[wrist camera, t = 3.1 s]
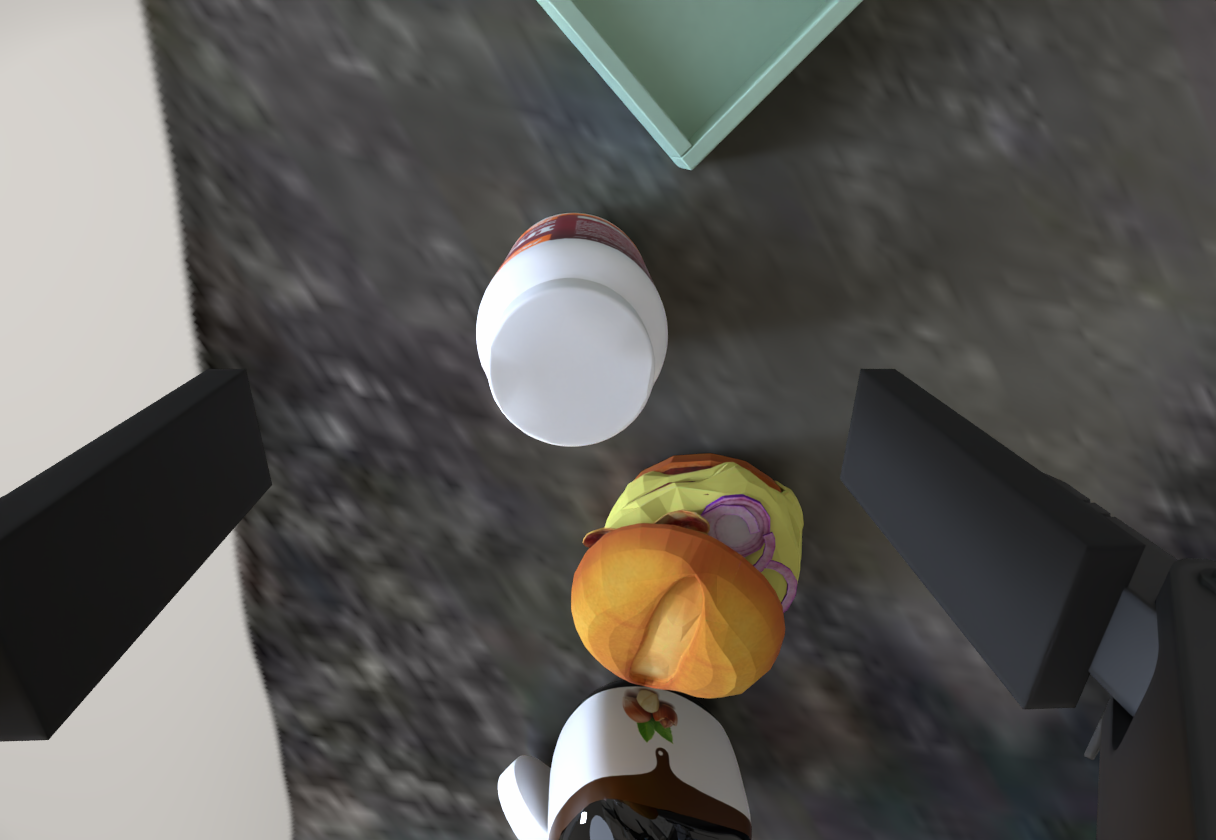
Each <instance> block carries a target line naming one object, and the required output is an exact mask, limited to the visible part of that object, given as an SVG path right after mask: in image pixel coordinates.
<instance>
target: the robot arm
mask: <svg viewBox="0 0 1216 840" xmlns="http://www.w3.org/2000/svg"><path fill="white" fill-rule="evenodd" d="M840 480H841V481H842V482H843V484H844V485H845V486H846V487H847V489H848V490H849V491H850V492H851V494H852V495H853V496H854V497H855V499H856V500H857V501H858V502H859V504H860V505H861V506H862V507H863V509H864V510H865V511H866V512H867V514H868V515H869V516H870V517H871V519H872V520H873V521H874V522H875V524H876V525H877V526H878V527H879V529H880V530H881V531H882V533H883V534H884V535H885V536H886V538H887V539H888V540H889V541H890V543H891V544H892V545H893V546H894V548H895V549H896V550H897V551H898V553H899V554H900V555H901V556H902V558H903V559H904V560H905V561H906V563H907V564H908V565H909V566H910V568H911V569H912V570H913V571H914V573H915V574H916V575H917V576H918V578H919V579H920V580H921V581H922V583H923V584H924V585H925V587H926V588H927V589H928V590H929V592H930V593H931V594H932V595H933V597H934V598H935V599H936V600H937V602H938V603H939V604H940V605H941V607H942V608H943V609H944V610H945V612H946V613H947V614H948V615H949V617H950V618H951V619H952V620H953V622H954V623H955V624H956V625H957V627H958V628H959V629H960V630H961V632H962V633H963V634H964V635H965V637H966V638H967V639H968V640H969V642H970V643H971V644H972V646H973V647H974V648H975V649H976V651H977V652H978V653H979V654H980V656H981V657H982V658H983V659H984V661H985V662H986V663H987V664H988V666H989V667H990V668H991V669H992V671H993V672H994V673H995V674H996V676H997V677H998V678H999V679H1000V681H1001V682H1002V683H1003V684H1004V686H1005V687H1006V688H1007V689H1008V691H1009V692H1010V693H1011V694H1012V696H1013V697H1014V698H1015V700H1016V701H1017V702H1018V703H1019V705H1020V706H1021V707H1022V708H1023V709H1048V708H1075V707H1076V705H1077V703H1078V700H1079V698H1080V696H1081V693H1082V691H1083V689H1084V686H1085V684H1086V682H1087V680H1088V677H1089V675H1090V674H1091V675H1092V676H1093V677H1094V678H1095V679H1096V680H1097V681H1098V682H1099V683H1100V684H1101V685H1102V686H1103V687H1104V688H1105V689H1106V690H1107V691H1108V692H1109V693H1110V694H1111V698H1110V700H1109V702H1108V704H1107V706H1106V708H1105V711H1104V713H1103V715H1102V717H1101V719H1100V721H1099V724H1098V726H1097V728H1096V730H1095V732H1094V734H1093V737H1092V739H1091V741H1090V743H1089V745H1088V747H1087V749H1086V752H1085V754H1084V756H1085V757H1087V758H1090V759H1092V760H1094V758H1095V756H1096V755H1097V753H1098V751H1100V767H1099V789H1098V812H1097V834H1096V840H1216V561H1212V560H1208V559H1191V558H1186V559H1182V560H1177V559H1176V558H1174V557H1173V556H1171V555H1170V554H1169V553H1167V552H1166V551H1164V550H1163V549H1161V548H1160V547H1158V546H1157V545H1155V544H1154V543H1153V542H1151V541H1150V540H1148V539H1147V538H1145V537H1144V536H1142V535H1141V534H1139V533H1138V532H1137V531H1135V530H1134V529H1132V528H1131V527H1129V526H1128V525H1126V524H1125V523H1124V522H1122V521H1121V520H1119V519H1118V518H1116V517H1111V516H1110V513H1109V512H1108V511H1106V510H1105V509H1103V508H1102V507H1100V506H1099V505H1097V504H1096V503H1090V499H1089V498H1087V497H1086V496H1084V495H1083V494H1081V493H1080V492H1078V491H1077V490H1076V489H1074V488H1073V487H1071V486H1070V485H1068V484H1067V483H1065V482H1063V481H1061V480H1059V479H1056V478H1054V477H1052V476H1050V475H1047V474H1045V473H1043V472H1041V471H1039V470H1038V469H1036V468H1035V467H1034V466H1032V465H1031V464H1029V463H1028V462H1027V461H1025V460H1024V459H1022V458H1021V457H1019V456H1018V455H1017V454H1015V453H1014V452H1012V451H1011V450H1009V449H1008V448H1007V447H1005V446H1004V445H1002V444H1001V443H999V442H998V441H997V440H995V439H994V438H992V437H991V436H989V435H988V434H987V433H985V432H984V431H982V430H981V429H979V428H978V427H977V426H975V425H974V424H972V423H971V422H969V421H968V420H967V419H965V418H964V417H962V416H961V415H960V414H958V413H957V412H955V411H954V410H952V409H951V408H950V407H948V406H947V405H945V404H944V403H942V402H941V401H940V400H938V399H937V398H935V397H934V396H932V395H931V394H930V393H928V392H927V391H925V390H924V389H922V388H921V387H920V386H918V385H917V384H915V383H914V382H912V381H911V380H910V379H908V378H907V377H905V376H904V375H903V374H901V373H900V372H898V371H897V370H895V369H861V370H860V376H859V381H858V386H857V391H856V397H855V402H854V407H853V412H852V418H851V423H850V428H849V434H848V439H847V444H846V449H845V455H844V460H843V465H842V470H841V476H840ZM271 485H272V482H271V478H270V474H269V469H268V465H267V460H266V456H265V451H264V447H263V443H262V438H261V434H260V429H259V425H258V421H257V416H256V412H255V407H254V403H253V399H252V394H251V390H250V385H249V381H248V376H247V372H246V369H207V370H206V371H204V372H203V373H201V374H199V375H198V376H196V377H195V378H193V379H191V380H190V381H188V382H187V383H185V384H183V385H182V386H180V387H179V388H177V389H175V390H174V391H172V392H170V393H169V394H167V395H166V396H164V397H162V398H161V399H160V400H158V401H156V402H154V403H153V404H151V405H150V406H148V407H146V408H145V409H143V410H142V411H140V412H138V413H137V414H135V415H134V416H132V417H130V418H129V419H127V420H125V421H124V422H122V423H121V424H119V425H118V426H116V427H114V428H113V429H111V430H109V431H108V432H106V433H105V434H103V435H101V436H100V437H98V438H97V439H95V440H93V441H92V442H90V443H89V444H87V445H85V446H84V447H82V448H81V449H79V450H77V451H76V452H74V453H73V454H71V455H69V456H68V457H66V458H64V459H63V460H61V461H60V462H58V463H56V464H55V465H53V466H52V467H50V468H49V469H47V470H45V471H44V472H42V473H40V474H39V475H37V476H36V477H34V478H32V479H31V480H29V481H28V482H26V483H24V484H23V485H21V486H19V487H18V488H16V489H15V490H13V491H11V492H10V493H8V494H7V495H5V496H3V497H1V498H0V741H29V740H49V739H50V738H51V736H52V735H53V734H54V733H55V731H57V729H58V728H59V727H60V726H61V725H62V724H63V723H64V721H65V720H66V719H67V718H68V717H69V716H70V715H71V714H72V712H73V711H74V710H75V709H76V708H77V707H78V706H79V704H80V703H81V702H82V701H83V700H84V698H85V697H86V696H87V695H88V694H89V693H90V692H91V691H92V689H93V688H94V687H95V686H96V685H97V684H98V683H99V682H100V680H101V679H102V678H103V677H104V676H105V675H106V674H107V672H108V671H109V670H110V669H111V668H112V667H113V666H114V664H115V663H116V662H117V661H118V660H119V659H120V657H121V656H122V655H123V654H124V653H125V652H126V651H127V650H128V648H129V647H130V646H131V645H132V644H133V642H135V641H136V639H137V638H138V637H139V636H140V635H141V634H142V633H143V631H144V630H145V629H146V628H147V627H148V626H149V624H150V623H151V622H152V621H153V620H154V619H155V618H156V617H157V615H158V614H159V613H160V612H161V611H162V610H163V609H164V607H165V606H166V605H167V604H168V603H169V602H170V601H171V599H172V598H173V597H174V596H175V595H176V594H177V593H178V591H179V590H180V589H181V588H182V587H183V586H184V585H185V583H186V582H187V581H188V580H189V579H190V578H191V576H193V574H194V573H195V572H196V571H197V570H198V569H199V568H200V566H201V565H202V564H203V563H204V562H205V560H206V559H207V558H208V557H209V556H210V555H211V554H212V553H213V552H214V550H215V549H216V548H217V547H218V546H219V545H220V544H221V542H222V541H223V540H224V539H225V538H226V537H227V535H228V534H229V533H230V532H231V531H232V530H233V529H234V528H235V526H236V525H237V524H238V523H239V522H240V521H241V520H242V518H243V517H244V516H245V515H246V514H247V513H248V512H249V510H250V509H251V508H252V507H253V506H254V505H255V504H256V502H257V501H258V500H259V499H260V498H261V497H262V496H263V495H264V493H265V492H266V491H267V490H268V489H269V488H270V487H271Z"/></svg>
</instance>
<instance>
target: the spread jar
mask: <svg viewBox="0 0 1216 840" xmlns="http://www.w3.org/2000/svg"><path fill="white" fill-rule="evenodd" d="M498 793H499V799H500V802H501V805H502V809H503V811H504V813H505V816H506V818H507V820H508V822H509V824H510V826H511V828H512V829H513V831H514V833H515V834H516V836H517V837H518V839H519V840H751V838H752V826H751V818H750V811H749V807H748V802H747V797H746V794H745V790H744V786H743V782H742V778H741V774H740V770H739V766H738V763H737V760H736V756H735V753H734V751H733V748H732V745H731V743H730V740H729V738H728V736H727V734H726V732H725V730H724V729H723V727H722V726H721V724H720V723H719V722H718V721H717V719H716V718H715V717H714V716H713V715H712V714H711V713H710V712H709V711H708V710H707V709H706V708H705V707H704V706H703V705H702V704H701V703H699V702H698V701H697V700H696V699H695V698H693V697H692V696H691V695H689V694H686V693H683V692H679V691H673V690H661V689H654V688H650V687H646V686H642V685H637V684H633V683H630V682H628V681H626V680H621V681H616V682H613V683H610V684H607V685H605V686H602V687H601V688H599V689H597V690H596V691H594V692H593V693H591V694H590V695H589V696H588V697H586V698H585V699H584V700H583V701H582V702H581V703H580V704H579V705H578V706H577V708H576V709H575V710H574V711H573V713H572V714H571V716H570V717H569V719H568V720H567V722H566V724H565V725H564V727H563V729H562V731H561V733H560V736H559V738H558V742H557V745H556V748H555V751H554V755H553V759H552V765H551V768H550V767H548V766H547V765H546V764H544V763H543V762H542V761H540V760H538V759H536V758H535V757H532V756H529V755H521V756H519V757H518V758H517V759H516V760H515V761H514V762H513V763H512V764H511V765H510V766H509V767H508V768H507V769H506V770H505V771H504V772H503V773H502V774H501V775H500V777H499V781H498Z"/></svg>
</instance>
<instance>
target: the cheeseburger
mask: <svg viewBox="0 0 1216 840" xmlns="http://www.w3.org/2000/svg"><path fill="white" fill-rule="evenodd" d="M803 526H804V522H803V513H802V509H801V507H800V504H799V502H798V500H797V498H796V496H795V495H794V493H793V491H792V490H791V489H789V488H787V487H785V486H783V485H782V484H780V483H779V482H778V481H773V479H772V478H770V477H769V476H767V475H766V474H764V473H763V472H761V471H760V470H758V469H757V468H755V467H754V466H752V465H751V464H749V463H748V462H746V461H743V460H739V459H734V458H730V457H725V456H721V455H717V454H712V453H706V454H691V455H676V456H672V457H670V458H668V459H666V460H664V461H662V462H660V463H658V464H656V465H654V466H652V467H649V468H647V469H645V470H643V471H641V472H640V474H639V475H638V476H637V477H636V478H635V480H634V481H632V482H631V483H629V484H628V485H627V487H626V489H625V491H624V492H623V493H622V495H621V496H620V497H619V499H618V500H617V502H616V503H615V505H614V507H613V508H612V510H611V512H610V514H609V516H608V519H607V521H606V525H605V527H604V528H600V529H597V530H594V531H591V532H589V533H587V534H586V536H585V537H584V540H583V544H584V545H585V546H586V547H589V549H588V550H587V552H586V553H585V555H584V557H583V559H582V560H581V562H580V564H579V566H578V568H577V570H576V572H575V574H574V579H573V585H572V595H571V611H572V615H573V619H574V622H575V626H576V630H577V632H578V634H579V636H580V638H581V640H582V642H583V644H584V646H585V647H586V648H587V649H588V651H589V652H590V653H591V654H592V655H593V656H594V657H595V658H596V659H597V660H598V661H599V662H600V663H601V664H602V665H603V666H604V667H605V668H607V669H608V670H610V671H611V672H613V673H614V674H615V675H617V676H618V677H620V678H622V679H624V680H626V681H628V682H630V683H633V684H637V685H642V686H646V687H650V688H654V689H661V690H673V691H679V692H683V693H686V694H689V695H692V696H695V697H701V698H708V699H709V698H722V697H727V696H732V695H737V694H741V693H743V692H744V691H745V690H746V689H748V688H749V687H750V686H751V685H752V684H754V683H755V682H756V681H757V680H758V679H759V678H761V677H762V676H763V675H764V674H765V673H766V672H768V671H769V670H770V669H771V667H772V665H773V663H774V662H775V660H776V658H777V656H778V654H779V652H780V648H781V645H782V642H783V638H784V635H785V623H784V614H783V613H784V612H785V611H787V610H788V608H789V606H790V605H791V603H792V601H793V599H794V598H795V596H796V590H797V583H798V578H799V573H800V561H801V553H802V529H803Z"/></svg>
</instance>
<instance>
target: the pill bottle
mask: <svg viewBox="0 0 1216 840" xmlns="http://www.w3.org/2000/svg"><path fill="white" fill-rule="evenodd" d="M476 338H477V348H478V353H479V358H480V361H481V364H482V367H483V369H484V371H485V373H486V375H487V377H488V380H489V385H490V388H491V392H492V395H493V397H494V399H495V401H496V403H497V405H498V406H499V408H500V409H501V411H502V412H503V413H504V415H505V416H506V417H507V418H508V419H509V420H510V421H511V422H512V423H513V424H514V425H515V426H516V427H518V428H519V429H520V430H521V431H523V432H524V433H526V434H528V435H529V436H531V437H533V438H535V439H538V440H540V441H543V442H546V443H550V444H554V445H559V446H584V445H590V444H595V443H598V442H601V441H604V440H607V439H609V438H611V437H613V436H615V435H616V434H618V433H619V432H621V431H622V430H624V429H625V428H626V427H627V426H628V425H630V424H631V423H632V422H633V421H634V420H635V419H636V417H637V416H638V415H639V414H640V412H641V411H642V409H643V408H644V406H645V405H646V402H647V400H648V398H649V396H650V393H651V390H652V387H653V385H654V383H655V381H656V379H657V378H658V376H659V373H660V371H661V369H662V366H663V363H664V359H665V355H666V350H667V343H668V327H667V318H666V314H665V310H664V307H663V303H662V301H661V298H660V295H659V293H658V291H657V289H656V287H655V285H654V283H653V281H652V278H651V276H650V274H649V272H648V270H647V268H646V266H645V263H644V261H643V259H642V256H641V254H640V252H639V251H638V249H637V247H636V246H635V244H634V243H633V242H632V241H631V240H630V238H629V237H628V236H627V235H626V234H625V233H624V232H623V231H622V230H621V229H619V228H618V227H617V226H615V225H614V224H612V223H610V222H609V221H607V220H605V219H602V218H600V217H597V216H594V215H590V214H585V213H563V214H558V215H554V216H551V217H548V218H546V219H544V220H542V221H540V222H538V223H536V224H535V225H533V226H532V227H530V228H529V229H528V230H527V231H526V232H525V233H524V234H523V235H522V236H521V237H520V238H519V239H518V240H517V242H516V243H515V244H514V246H513V247H512V249H511V251H510V252H509V254H508V256H507V257H506V259H505V261H504V262H503V264H502V265H501V266H500V268H499V270H498V271H497V273H496V275H495V276H494V278H493V279H492V281H491V282H490V284H489V286H488V287H487V289H486V291H485V294H484V296H483V299H482V302H481V305H480V308H479V312H478V318H477V326H476Z"/></svg>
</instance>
